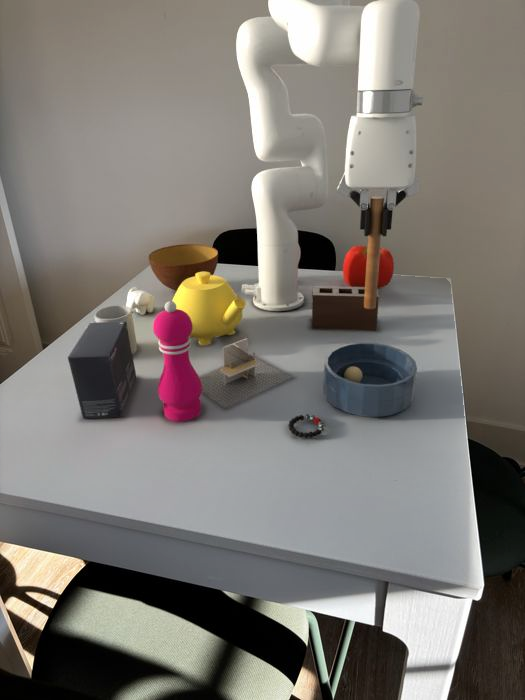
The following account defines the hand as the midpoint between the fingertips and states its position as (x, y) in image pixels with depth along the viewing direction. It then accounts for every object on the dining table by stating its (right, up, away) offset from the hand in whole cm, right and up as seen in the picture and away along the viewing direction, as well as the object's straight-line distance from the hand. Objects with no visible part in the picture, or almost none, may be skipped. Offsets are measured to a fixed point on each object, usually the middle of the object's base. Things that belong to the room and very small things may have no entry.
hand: (374, 233), depth 82 cm
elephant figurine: (-47, -9, +44) cm, 65 cm away
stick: (0, -11, +6) cm, 13 cm away
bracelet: (-11, -31, +1) cm, 33 cm away
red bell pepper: (+10, -2, +55) cm, 56 cm away
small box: (-45, -27, +11) cm, 53 cm away
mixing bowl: (+1, -26, +9) cm, 28 cm away
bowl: (-38, -3, +56) cm, 68 cm away
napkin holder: (-22, -24, +15) cm, 36 cm away
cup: (-48, -19, +25) cm, 58 cm away
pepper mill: (-31, -29, +6) cm, 43 cm away
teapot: (-28, -15, +32) cm, 45 cm away
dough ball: (-1, -24, +11) cm, 27 cm away
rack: (+1, -13, +35) cm, 37 cm away
